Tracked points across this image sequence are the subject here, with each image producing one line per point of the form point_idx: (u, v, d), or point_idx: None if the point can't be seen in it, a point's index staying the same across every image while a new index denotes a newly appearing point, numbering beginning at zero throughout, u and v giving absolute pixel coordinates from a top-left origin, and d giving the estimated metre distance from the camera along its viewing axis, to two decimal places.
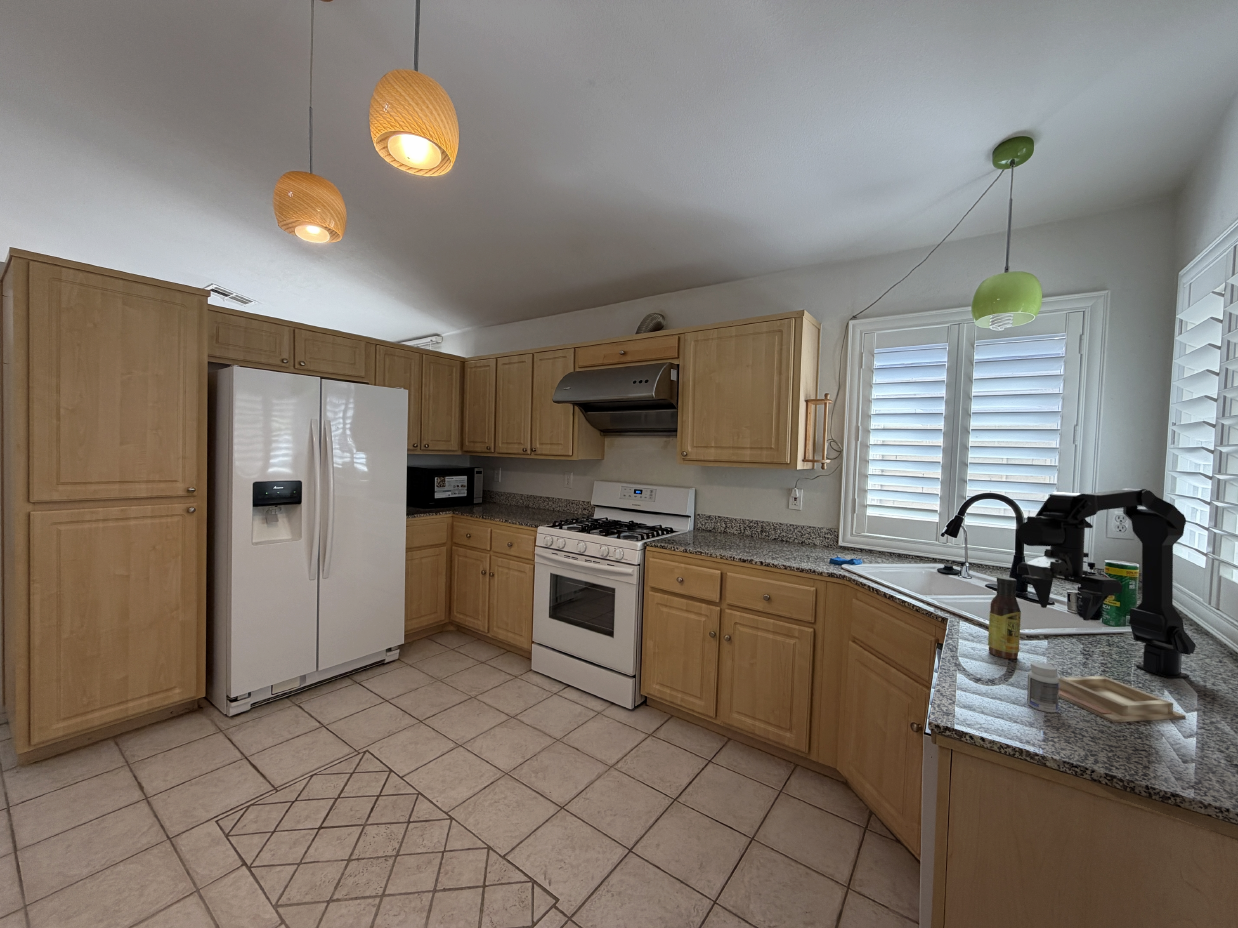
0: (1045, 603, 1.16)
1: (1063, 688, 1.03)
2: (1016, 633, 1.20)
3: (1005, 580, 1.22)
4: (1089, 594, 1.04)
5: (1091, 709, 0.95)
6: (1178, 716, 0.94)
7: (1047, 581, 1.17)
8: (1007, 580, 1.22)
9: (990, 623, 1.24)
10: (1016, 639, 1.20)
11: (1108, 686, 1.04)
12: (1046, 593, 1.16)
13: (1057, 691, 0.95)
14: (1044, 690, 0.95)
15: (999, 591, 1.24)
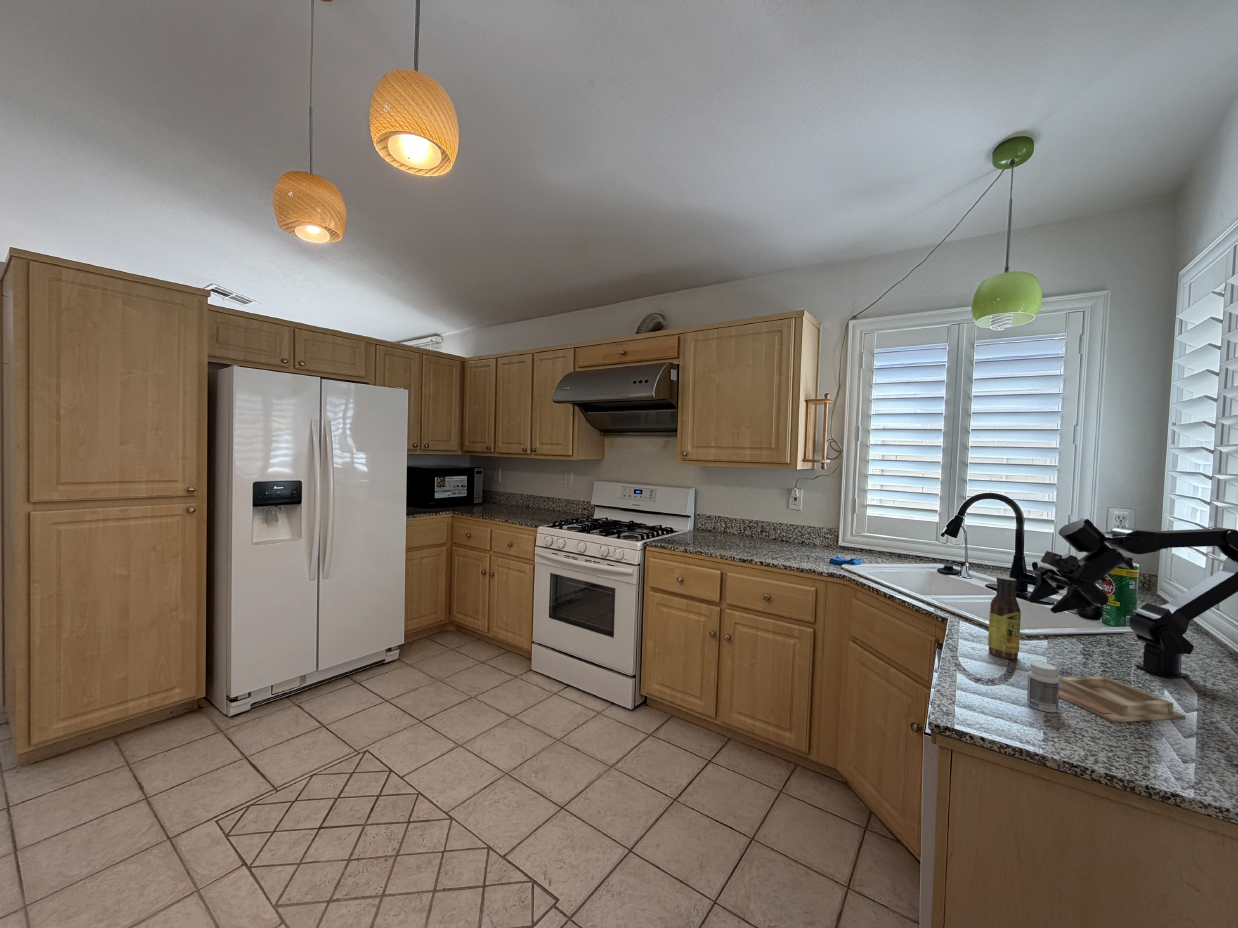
0: (1033, 599, 1.26)
1: (1063, 688, 1.03)
2: (1016, 633, 1.20)
3: (1005, 580, 1.22)
4: (1072, 588, 1.14)
5: (1091, 709, 0.95)
6: (1178, 716, 0.94)
7: (1052, 589, 1.25)
8: (1007, 580, 1.22)
9: (990, 623, 1.24)
10: (1016, 639, 1.20)
11: (1108, 686, 1.04)
12: (1042, 594, 1.26)
13: (1057, 691, 0.95)
14: (1044, 690, 0.95)
15: (999, 591, 1.24)
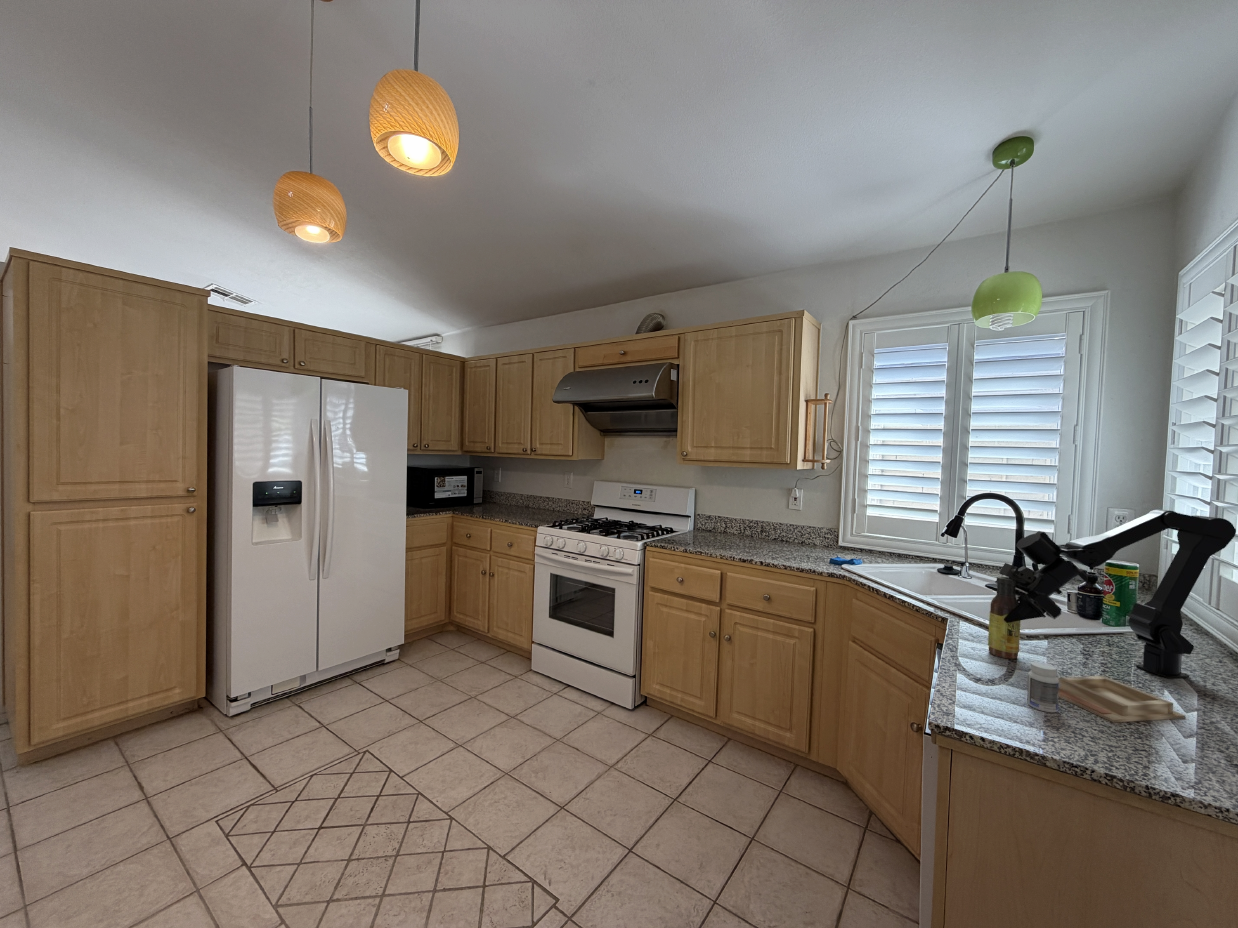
0: None
1: (1063, 688, 1.03)
2: (1016, 633, 1.20)
3: (1005, 580, 1.22)
4: (1024, 599, 1.18)
5: (1091, 709, 0.95)
6: (1178, 716, 0.94)
7: None
8: (1007, 580, 1.22)
9: (990, 623, 1.24)
10: (1016, 639, 1.20)
11: (1108, 686, 1.04)
12: None
13: (1057, 691, 0.95)
14: (1044, 690, 0.95)
15: (999, 591, 1.24)
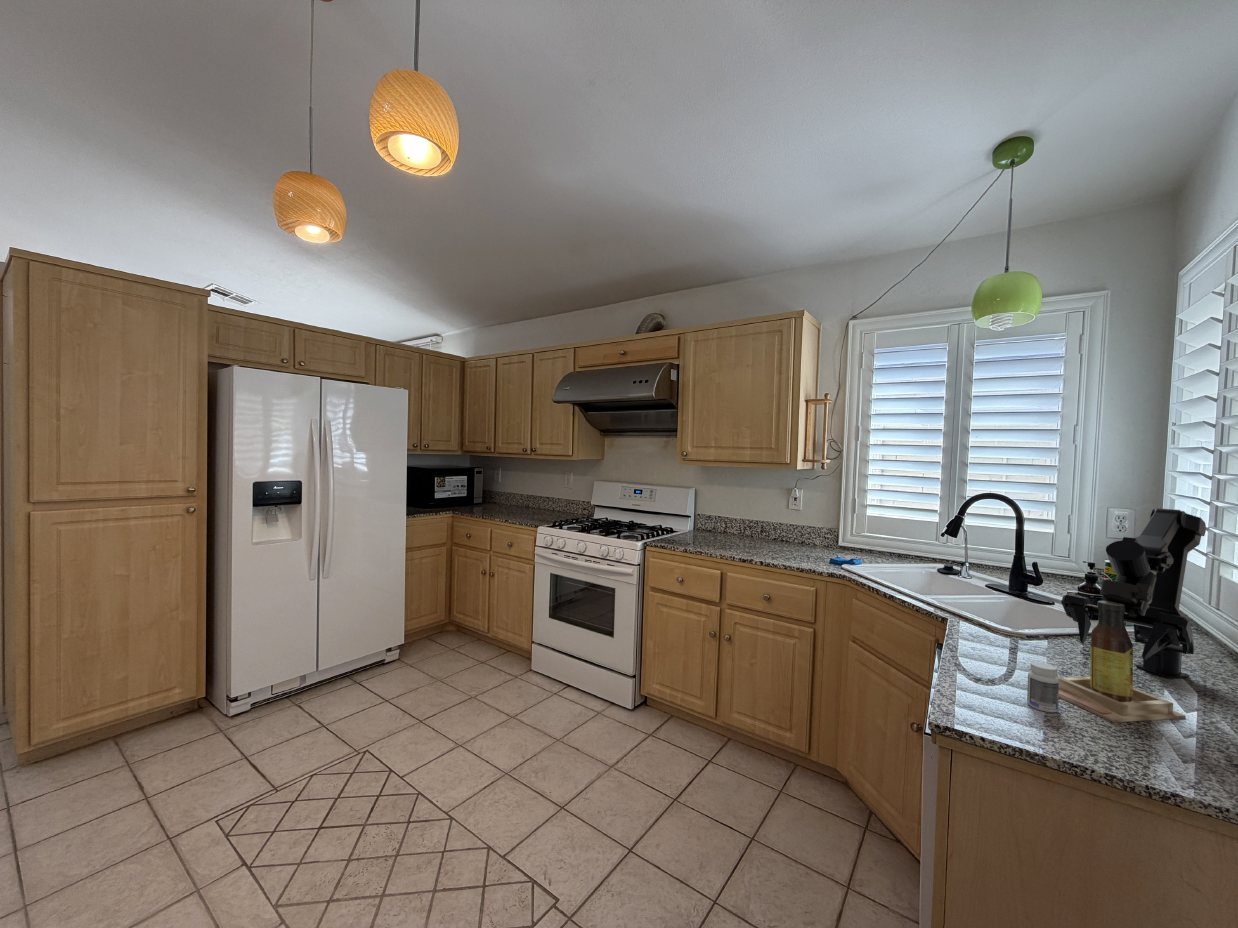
0: (1084, 638, 1.03)
1: (1063, 688, 1.03)
2: None
3: (1120, 607, 0.99)
4: (1167, 627, 0.94)
5: (1091, 709, 0.95)
6: (1178, 716, 0.94)
7: (1089, 621, 1.06)
8: (1122, 606, 0.99)
9: (1105, 663, 0.99)
10: None
11: None
12: (1086, 631, 1.05)
13: (1057, 691, 0.95)
14: (1044, 690, 0.95)
15: (1111, 621, 0.99)
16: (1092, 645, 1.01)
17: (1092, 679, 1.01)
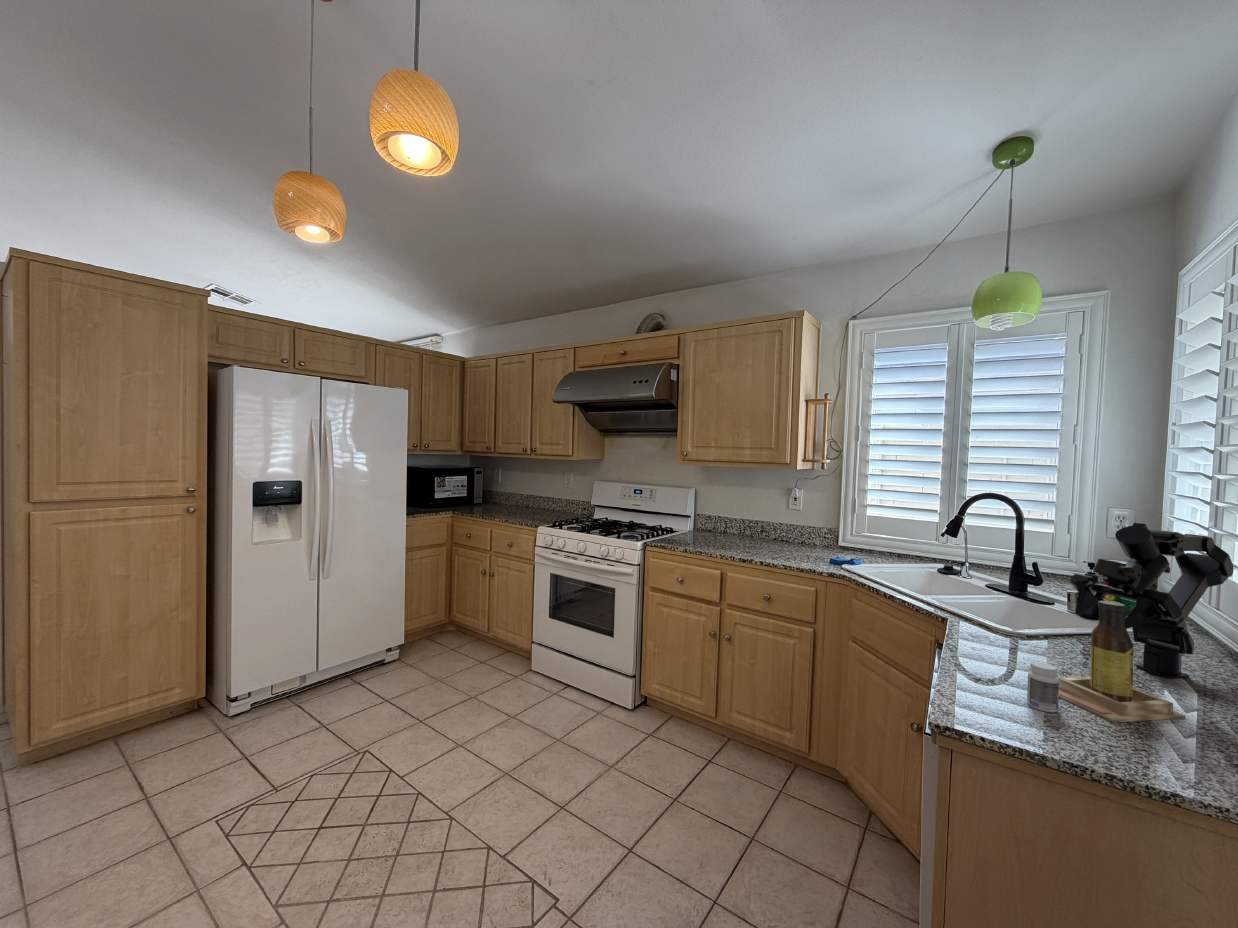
0: (1081, 611, 1.15)
1: (1063, 688, 1.03)
2: None
3: (1121, 607, 0.99)
4: (1147, 601, 1.04)
5: (1091, 709, 0.95)
6: (1178, 716, 0.94)
7: (1094, 598, 1.16)
8: (1123, 607, 0.99)
9: (1105, 663, 0.99)
10: None
11: None
12: (1086, 605, 1.16)
13: (1057, 691, 0.95)
14: (1044, 690, 0.95)
15: (1111, 621, 0.99)
16: (1092, 645, 1.01)
17: (1092, 679, 1.01)
